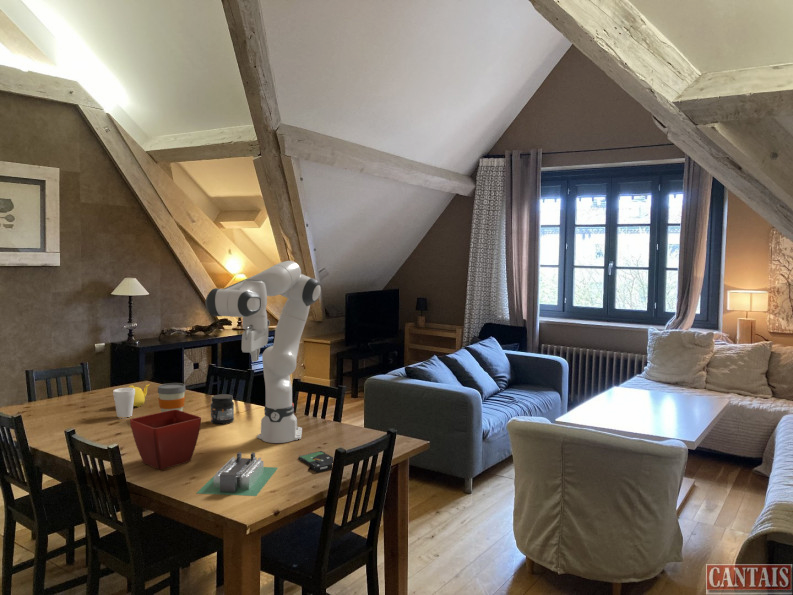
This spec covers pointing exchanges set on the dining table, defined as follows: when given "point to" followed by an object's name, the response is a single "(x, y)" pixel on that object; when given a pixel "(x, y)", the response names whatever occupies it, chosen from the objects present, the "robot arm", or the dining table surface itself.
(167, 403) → the reusable coffee cup
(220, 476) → the heat sink
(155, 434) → the plant pot
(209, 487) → the circuit board
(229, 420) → the supplement container
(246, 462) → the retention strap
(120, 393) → the foam cup
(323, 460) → the disk drive
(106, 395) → the dining table surface
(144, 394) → the teapot
